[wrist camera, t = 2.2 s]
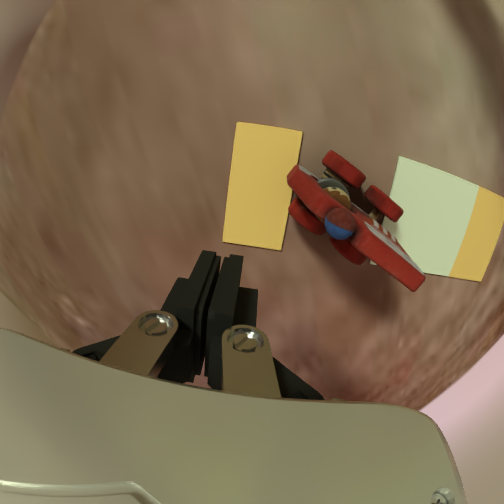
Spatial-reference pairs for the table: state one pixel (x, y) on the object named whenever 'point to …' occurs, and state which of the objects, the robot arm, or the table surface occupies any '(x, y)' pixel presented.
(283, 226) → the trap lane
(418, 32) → the table surface
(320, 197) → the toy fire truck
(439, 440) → the robot arm
